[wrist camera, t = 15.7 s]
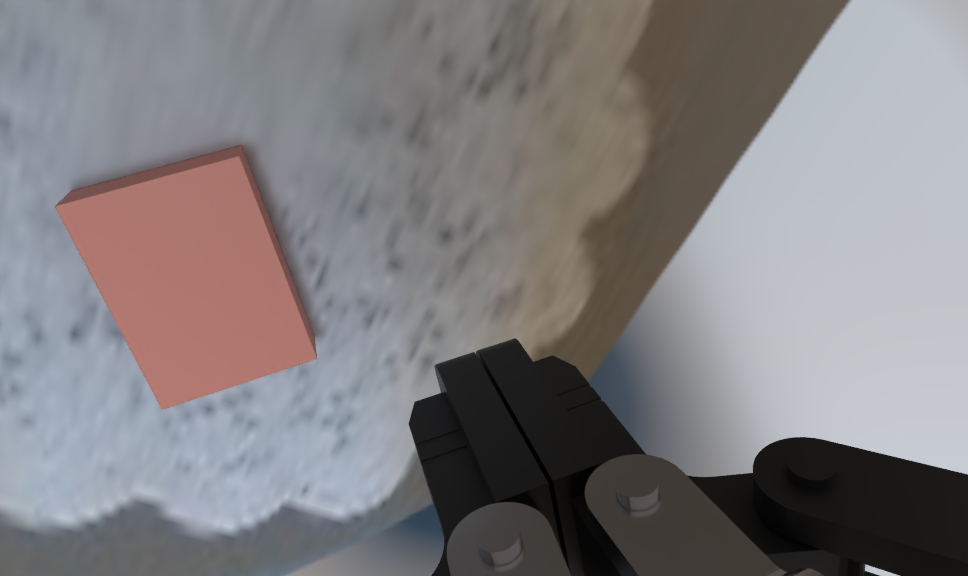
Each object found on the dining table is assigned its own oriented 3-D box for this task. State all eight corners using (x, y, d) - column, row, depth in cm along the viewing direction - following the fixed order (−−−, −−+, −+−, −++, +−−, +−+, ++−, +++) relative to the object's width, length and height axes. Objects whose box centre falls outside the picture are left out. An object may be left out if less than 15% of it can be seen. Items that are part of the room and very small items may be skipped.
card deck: (242, 143, 27) (72, 189, 26) (239, 156, 25) (54, 206, 24) (314, 333, 31) (170, 380, 30) (316, 358, 29) (161, 409, 28)
